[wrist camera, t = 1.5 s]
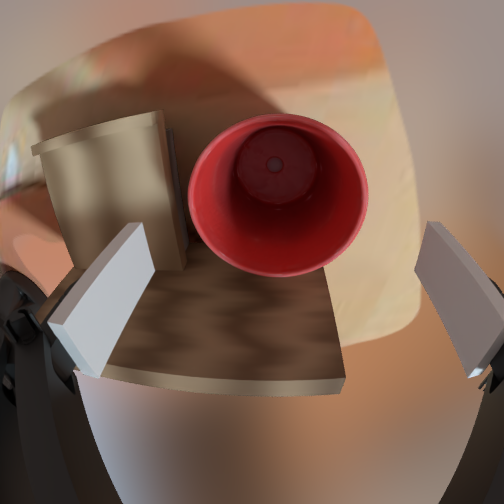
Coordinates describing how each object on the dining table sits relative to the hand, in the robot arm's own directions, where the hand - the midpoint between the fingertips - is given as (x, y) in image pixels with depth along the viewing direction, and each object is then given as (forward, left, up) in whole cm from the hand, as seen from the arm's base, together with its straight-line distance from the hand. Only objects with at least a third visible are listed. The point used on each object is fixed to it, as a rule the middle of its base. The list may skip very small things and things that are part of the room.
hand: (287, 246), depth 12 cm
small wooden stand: (-15, -1, -14) cm, 21 cm away
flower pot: (0, 0, -15) cm, 15 cm away
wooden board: (-9, -9, -14) cm, 19 cm away
